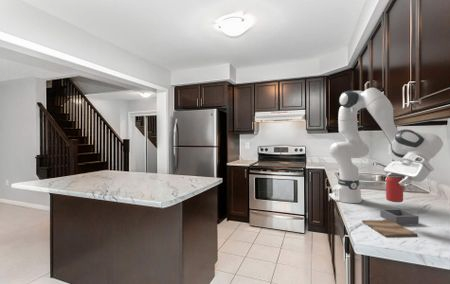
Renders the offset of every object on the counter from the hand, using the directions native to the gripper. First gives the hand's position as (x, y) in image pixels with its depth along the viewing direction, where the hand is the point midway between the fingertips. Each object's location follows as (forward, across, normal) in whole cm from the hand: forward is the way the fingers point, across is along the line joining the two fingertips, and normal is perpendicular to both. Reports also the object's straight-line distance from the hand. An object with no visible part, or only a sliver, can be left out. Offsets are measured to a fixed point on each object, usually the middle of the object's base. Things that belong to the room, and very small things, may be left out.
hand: (393, 182), depth 108 cm
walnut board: (+18, +4, +11) cm, 22 cm away
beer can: (+6, 0, +7) cm, 9 cm away
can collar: (+9, -6, +20) cm, 23 cm away
